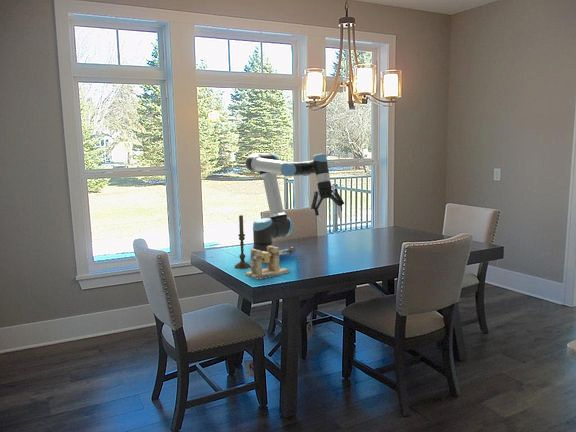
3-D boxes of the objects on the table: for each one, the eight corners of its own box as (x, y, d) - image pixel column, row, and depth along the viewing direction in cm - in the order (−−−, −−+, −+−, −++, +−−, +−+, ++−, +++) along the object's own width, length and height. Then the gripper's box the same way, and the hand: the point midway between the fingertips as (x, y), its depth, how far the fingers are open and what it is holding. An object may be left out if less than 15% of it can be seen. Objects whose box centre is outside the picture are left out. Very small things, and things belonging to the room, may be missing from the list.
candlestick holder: (232, 268, 264) (230, 215, 259) (237, 264, 273) (235, 213, 268) (248, 268, 262) (247, 215, 258) (252, 264, 271) (250, 213, 267)
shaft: (252, 260, 247) (252, 253, 246) (290, 253, 263) (290, 246, 263) (256, 262, 244) (256, 254, 243) (295, 254, 260) (295, 247, 260)
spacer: (259, 261, 250) (259, 251, 250) (263, 260, 252) (263, 251, 252) (265, 262, 247) (264, 253, 246) (269, 261, 249) (269, 252, 248)
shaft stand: (245, 274, 250) (244, 249, 248) (275, 268, 262) (274, 243, 260) (258, 279, 241) (258, 252, 239) (289, 272, 253) (288, 246, 251)
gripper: (307, 183, 253) (314, 222, 252) (346, 178, 264) (352, 215, 263) (301, 185, 259) (307, 223, 259) (339, 180, 270) (345, 216, 270)
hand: (330, 219), depth 261 cm, fingers open, 13 cm apart
